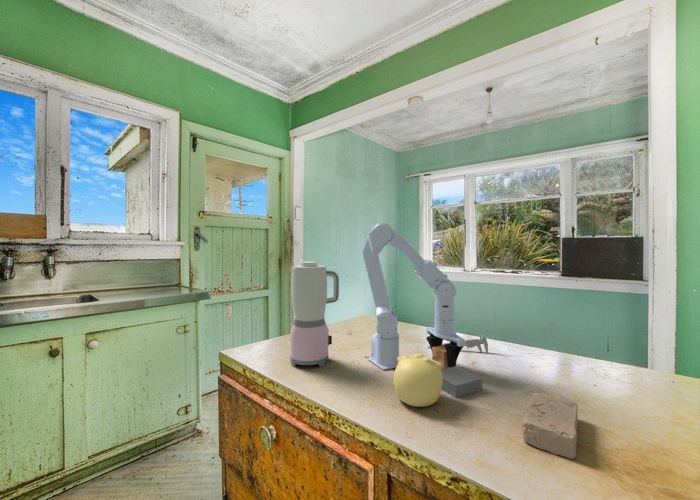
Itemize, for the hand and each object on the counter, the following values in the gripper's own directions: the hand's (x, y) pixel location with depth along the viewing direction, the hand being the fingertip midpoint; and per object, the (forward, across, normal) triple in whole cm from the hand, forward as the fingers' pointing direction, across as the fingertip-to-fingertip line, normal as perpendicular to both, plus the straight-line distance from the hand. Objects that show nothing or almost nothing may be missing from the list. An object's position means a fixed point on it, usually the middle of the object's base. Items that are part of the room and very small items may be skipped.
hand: (444, 363), depth 95 cm
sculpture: (+2, -12, +20) cm, 23 cm away
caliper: (+2, +10, -15) cm, 18 cm away
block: (+2, 0, 0) cm, 2 cm away
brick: (+2, -34, +3) cm, 34 cm away
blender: (+2, +22, +34) cm, 41 cm away
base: (+1, -11, +6) cm, 13 cm away
